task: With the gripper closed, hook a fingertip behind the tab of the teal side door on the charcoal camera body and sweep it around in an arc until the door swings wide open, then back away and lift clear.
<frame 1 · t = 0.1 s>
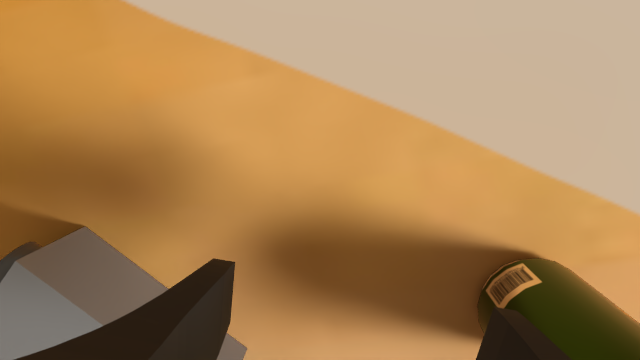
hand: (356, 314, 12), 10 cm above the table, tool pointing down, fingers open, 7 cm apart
camera body: (102, 356, 25), on the table
beer can: (524, 300, 23), on the table
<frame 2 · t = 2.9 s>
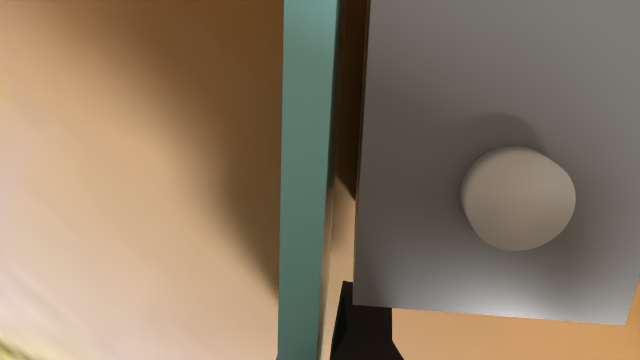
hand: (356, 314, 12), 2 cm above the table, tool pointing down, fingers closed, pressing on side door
side door: (305, 218, 10), point 3 cm above the table, hinge at 1.4°, touching gripper
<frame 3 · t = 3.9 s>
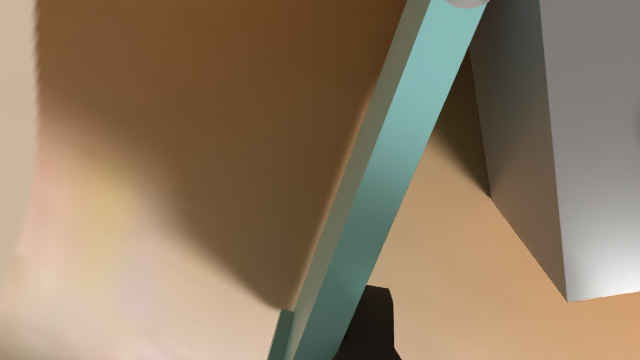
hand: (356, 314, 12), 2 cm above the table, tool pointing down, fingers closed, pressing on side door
side door: (347, 215, 10), point 3 cm above the table, hinge at 32.7°, touching gripper
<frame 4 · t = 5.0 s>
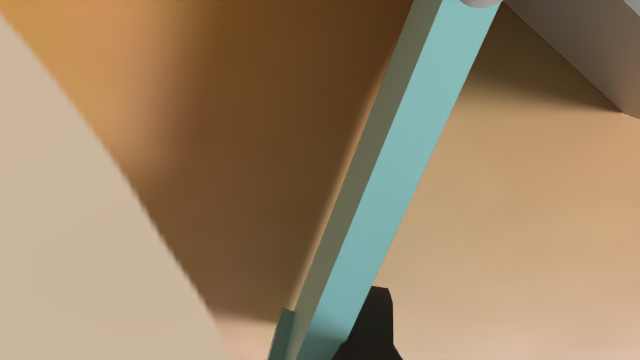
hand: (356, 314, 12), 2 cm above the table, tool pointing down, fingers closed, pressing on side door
side door: (351, 215, 10), point 3 cm above the table, hinge at 70.7°, touching gripper
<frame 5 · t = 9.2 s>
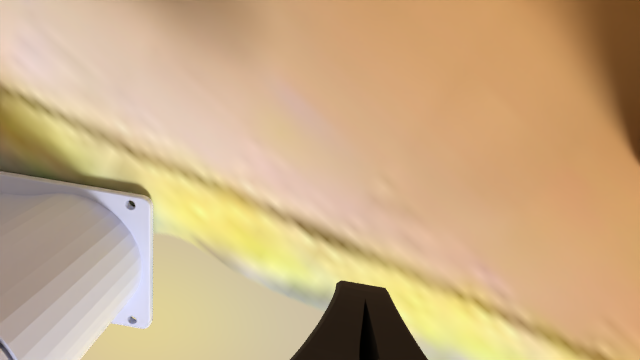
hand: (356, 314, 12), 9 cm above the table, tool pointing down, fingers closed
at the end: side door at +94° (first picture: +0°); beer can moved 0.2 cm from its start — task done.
